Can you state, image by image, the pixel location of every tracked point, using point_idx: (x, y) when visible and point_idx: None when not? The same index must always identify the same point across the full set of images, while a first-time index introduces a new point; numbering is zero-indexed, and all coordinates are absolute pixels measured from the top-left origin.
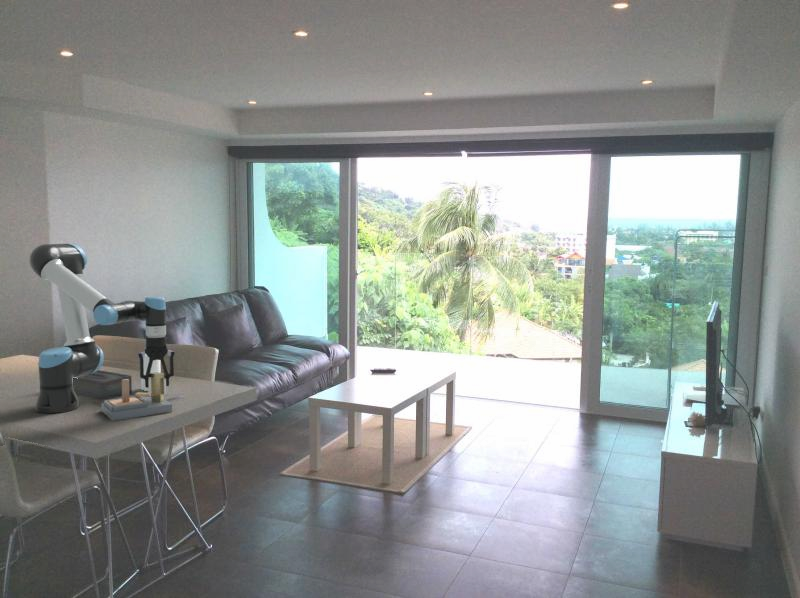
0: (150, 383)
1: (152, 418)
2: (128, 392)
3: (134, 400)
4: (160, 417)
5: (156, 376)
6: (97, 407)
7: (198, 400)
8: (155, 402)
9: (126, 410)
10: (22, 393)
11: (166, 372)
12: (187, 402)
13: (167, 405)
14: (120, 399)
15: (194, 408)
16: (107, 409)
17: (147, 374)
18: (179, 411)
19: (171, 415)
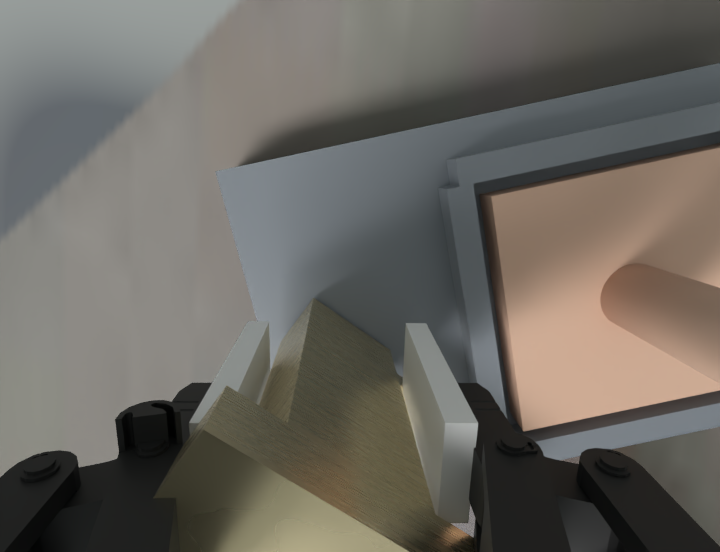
0: (435, 391)
1: (409, 5)
2: (680, 301)
3: (553, 311)
4: (341, 11)
5: (346, 474)
6: (716, 495)
7: (15, 454)
8: (359, 297)
9: (643, 89)
10: None
11: (127, 511)
12: (102, 424)
13: (260, 162)
14: (657, 394)
15: (44, 212)
16: None
17: (529, 495)
18: (172, 159)
19: (245, 44)
